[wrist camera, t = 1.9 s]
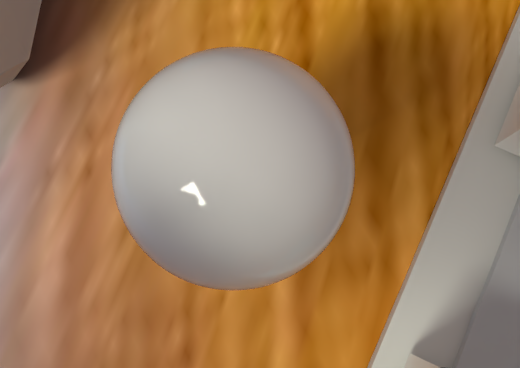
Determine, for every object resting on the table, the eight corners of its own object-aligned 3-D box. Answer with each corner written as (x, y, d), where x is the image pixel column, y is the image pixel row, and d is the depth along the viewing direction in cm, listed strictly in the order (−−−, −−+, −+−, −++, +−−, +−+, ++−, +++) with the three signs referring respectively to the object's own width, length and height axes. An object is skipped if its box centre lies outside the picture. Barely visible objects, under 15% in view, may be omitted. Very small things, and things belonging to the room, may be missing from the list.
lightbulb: (344, 263, 20) (424, 235, 10) (196, 309, 20) (109, 333, 9) (296, 123, 22) (321, -40, 11) (157, 165, 22) (42, 41, 11)
